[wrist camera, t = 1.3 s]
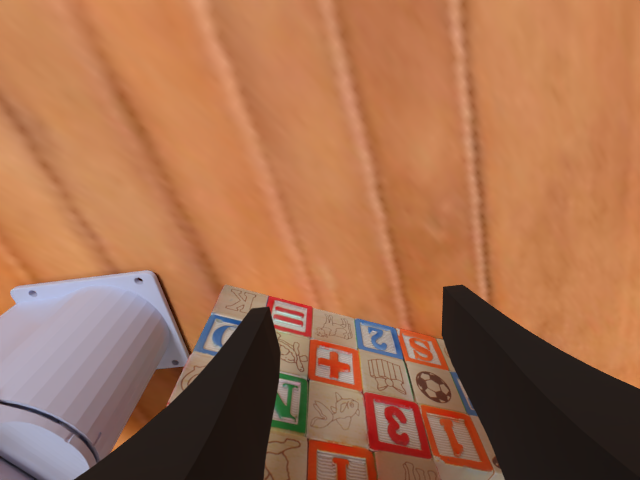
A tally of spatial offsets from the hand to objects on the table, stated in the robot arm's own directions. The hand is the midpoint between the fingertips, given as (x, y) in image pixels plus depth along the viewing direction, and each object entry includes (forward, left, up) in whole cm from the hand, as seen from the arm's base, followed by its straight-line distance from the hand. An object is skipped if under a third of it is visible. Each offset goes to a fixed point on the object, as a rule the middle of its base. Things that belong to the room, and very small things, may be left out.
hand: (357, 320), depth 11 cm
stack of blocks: (0, -11, -10) cm, 15 cm away
